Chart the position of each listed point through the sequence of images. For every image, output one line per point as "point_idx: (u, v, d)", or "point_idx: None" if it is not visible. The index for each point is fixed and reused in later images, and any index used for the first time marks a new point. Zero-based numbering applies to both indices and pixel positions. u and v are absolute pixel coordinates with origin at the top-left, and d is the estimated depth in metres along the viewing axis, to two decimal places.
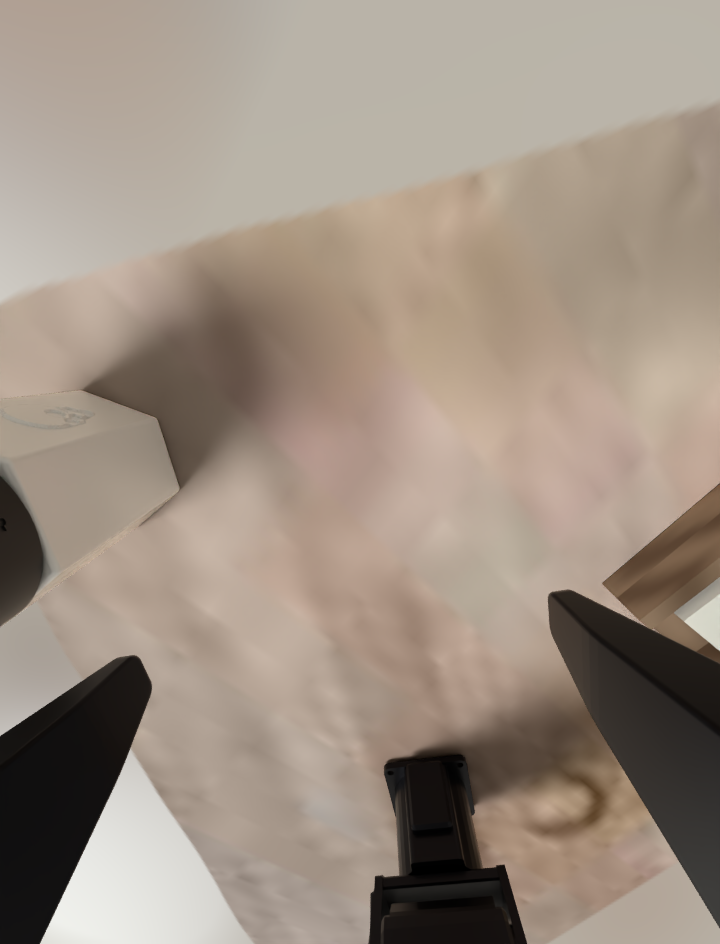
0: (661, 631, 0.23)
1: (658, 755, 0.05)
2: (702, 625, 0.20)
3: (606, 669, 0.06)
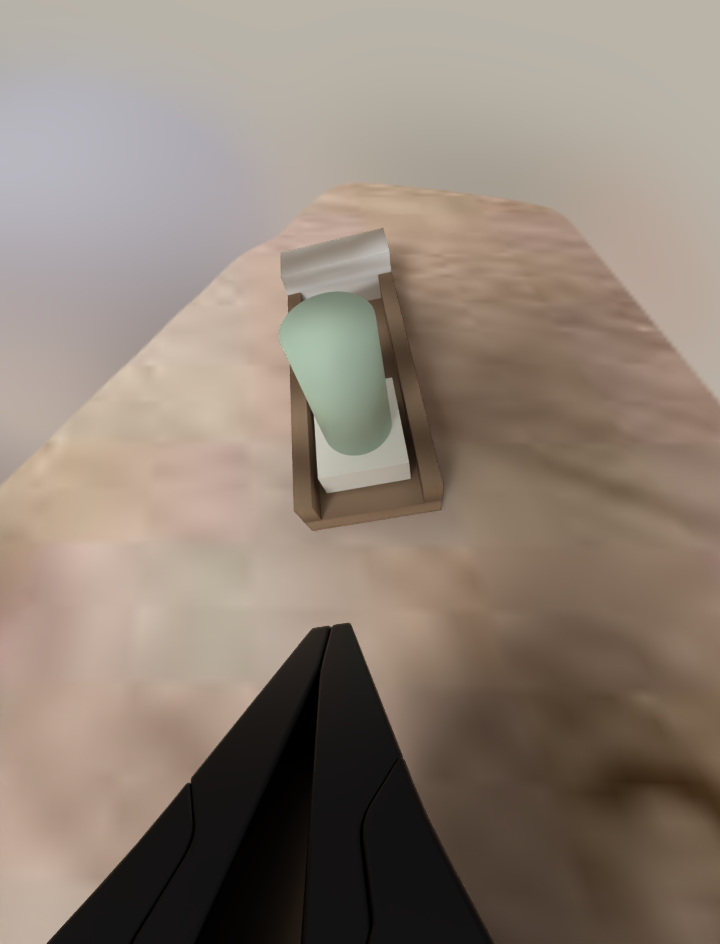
0: (373, 509, 0.21)
1: None
2: (335, 468, 0.20)
3: None
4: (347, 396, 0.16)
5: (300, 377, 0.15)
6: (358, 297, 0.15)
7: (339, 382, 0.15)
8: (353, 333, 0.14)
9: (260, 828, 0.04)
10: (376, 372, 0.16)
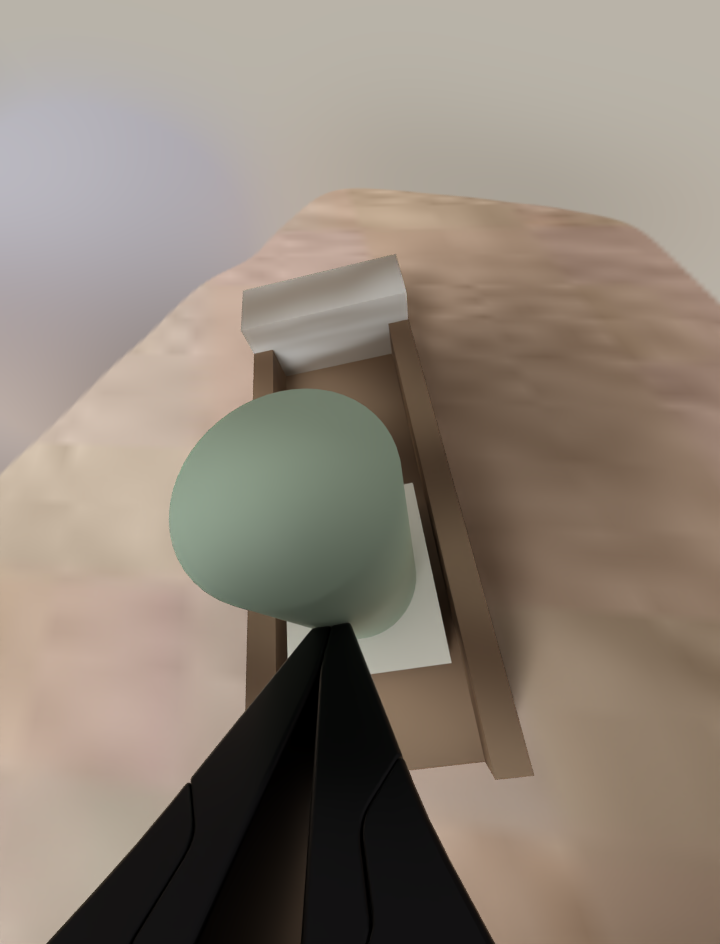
0: None
1: None
2: None
3: None
4: (334, 620, 0.07)
5: None
6: (357, 405, 0.07)
7: (313, 616, 0.06)
8: (345, 516, 0.06)
9: (260, 828, 0.04)
10: (399, 563, 0.07)
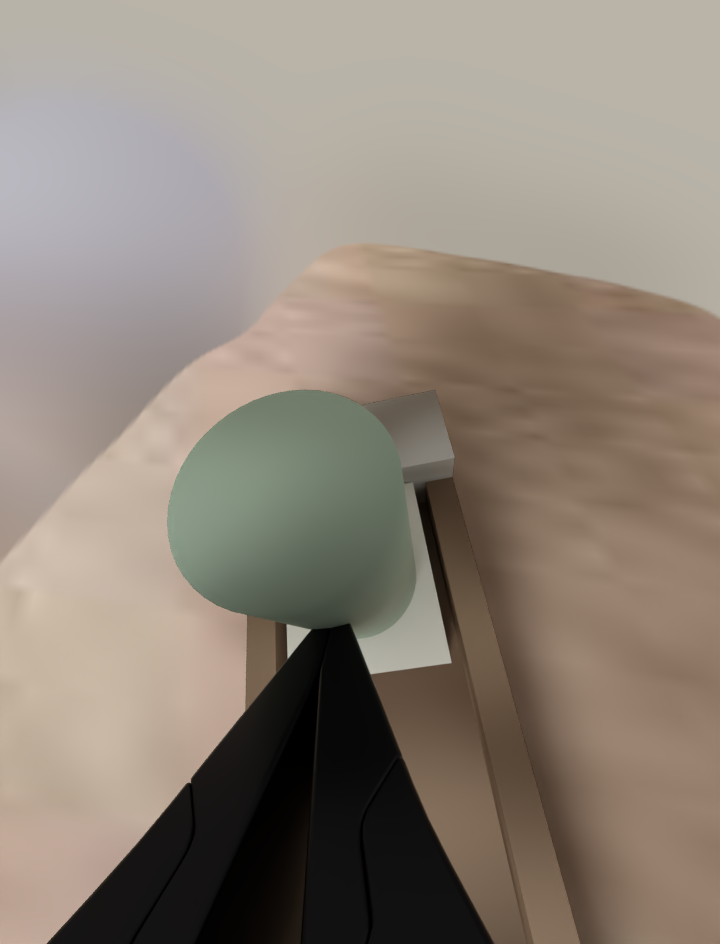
0: None
1: None
2: None
3: None
4: (334, 623, 0.07)
5: None
6: (357, 406, 0.07)
7: (314, 620, 0.06)
8: (345, 520, 0.06)
9: (260, 828, 0.04)
10: (399, 565, 0.07)
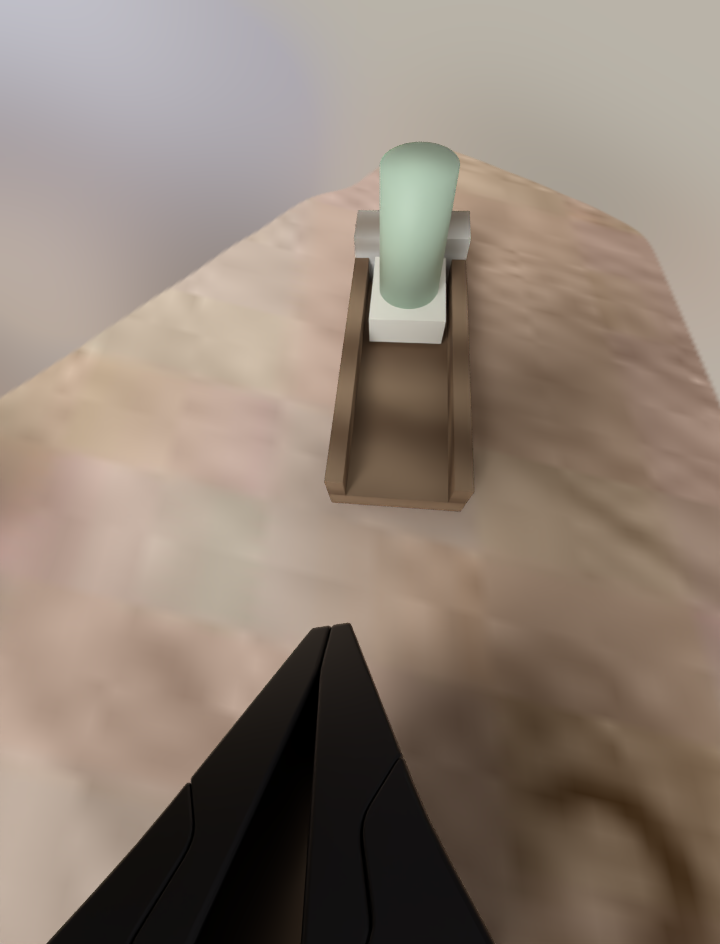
0: (397, 496, 0.21)
1: None
2: (384, 314, 0.24)
3: None
4: (418, 233, 0.20)
5: (387, 205, 0.19)
6: (448, 150, 0.19)
7: (417, 214, 0.19)
8: (439, 173, 0.18)
9: (260, 828, 0.04)
10: (445, 220, 0.20)
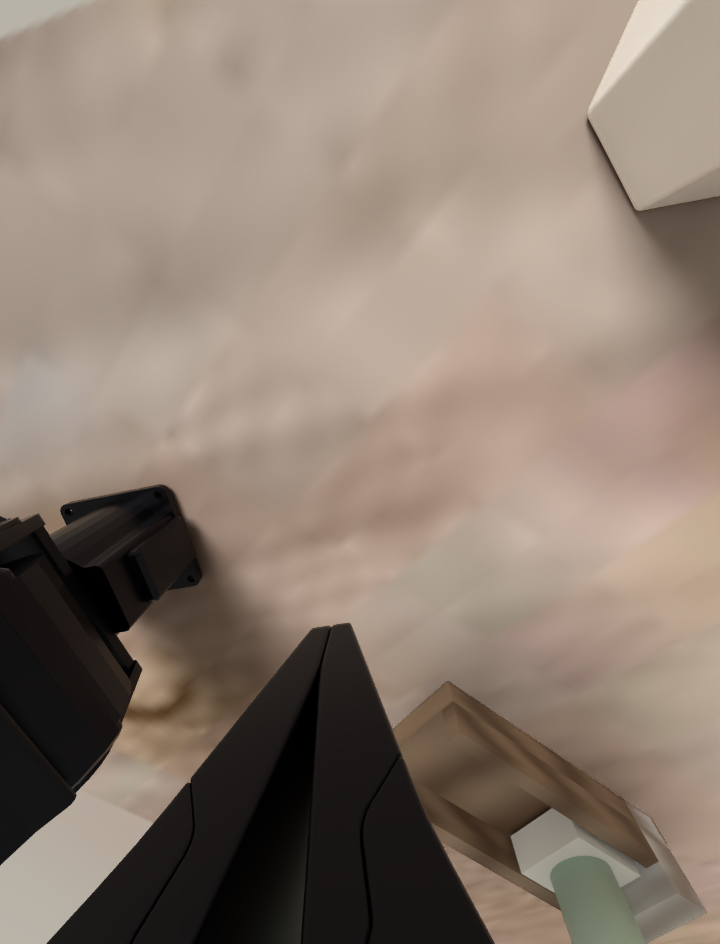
0: (412, 737, 0.24)
1: None
2: (571, 847, 0.23)
3: None
4: None
5: None
6: None
7: None
8: None
9: (260, 828, 0.04)
10: None
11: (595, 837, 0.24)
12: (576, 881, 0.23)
